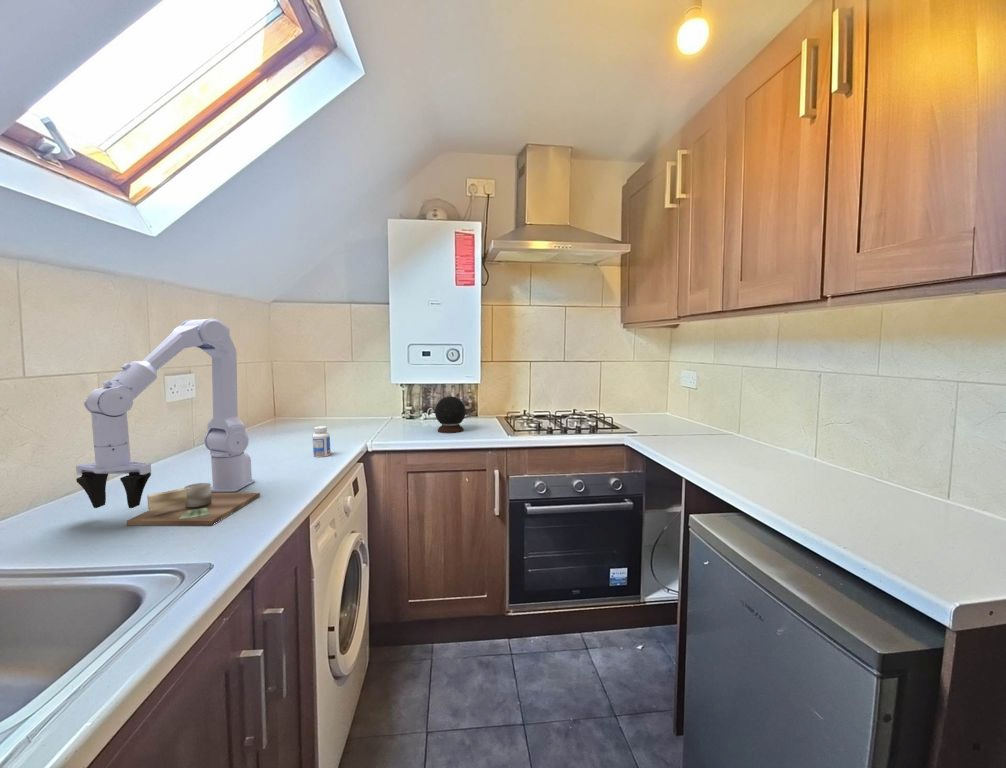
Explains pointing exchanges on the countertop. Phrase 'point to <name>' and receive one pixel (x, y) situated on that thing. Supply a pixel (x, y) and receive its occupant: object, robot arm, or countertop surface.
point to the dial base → (196, 511)
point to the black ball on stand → (450, 414)
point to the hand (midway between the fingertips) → (116, 506)
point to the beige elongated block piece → (182, 497)
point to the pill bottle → (321, 442)
